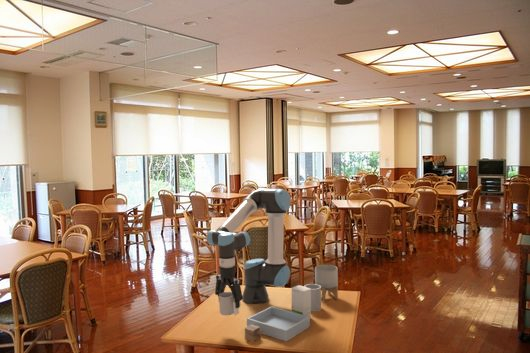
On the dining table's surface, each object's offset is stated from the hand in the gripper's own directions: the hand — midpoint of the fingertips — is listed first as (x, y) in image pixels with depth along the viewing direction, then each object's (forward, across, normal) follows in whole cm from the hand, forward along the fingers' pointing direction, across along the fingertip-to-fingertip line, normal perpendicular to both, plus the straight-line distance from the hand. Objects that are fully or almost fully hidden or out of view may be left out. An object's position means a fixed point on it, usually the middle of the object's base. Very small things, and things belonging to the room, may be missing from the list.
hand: (229, 311), depth 206 cm
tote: (+10, +16, +17) cm, 26 cm away
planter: (+12, +14, +66) cm, 69 cm away
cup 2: (+11, +16, +48) cm, 52 cm away
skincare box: (+11, +18, +34) cm, 40 cm away
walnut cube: (+10, +13, +1) cm, 16 cm away
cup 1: (+1, 0, 0) cm, 1 cm away
